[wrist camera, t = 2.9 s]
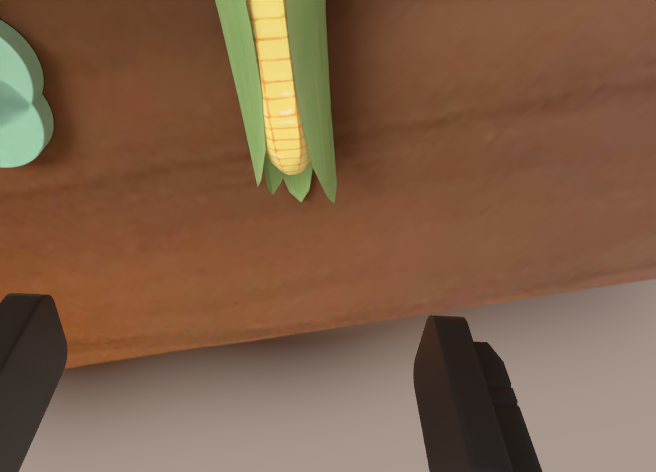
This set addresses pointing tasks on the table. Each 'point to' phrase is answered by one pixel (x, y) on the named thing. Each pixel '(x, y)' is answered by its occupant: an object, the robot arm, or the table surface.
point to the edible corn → (283, 89)
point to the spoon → (21, 101)
